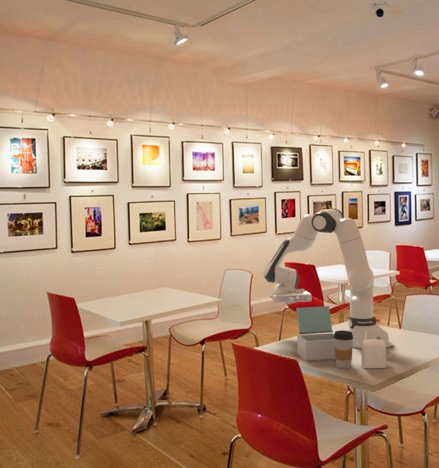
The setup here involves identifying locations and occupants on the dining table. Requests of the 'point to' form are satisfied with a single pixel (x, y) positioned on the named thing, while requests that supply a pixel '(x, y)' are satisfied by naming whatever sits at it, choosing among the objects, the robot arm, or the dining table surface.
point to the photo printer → (373, 353)
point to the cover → (314, 320)
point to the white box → (316, 346)
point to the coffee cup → (343, 348)
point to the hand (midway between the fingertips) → (296, 300)
